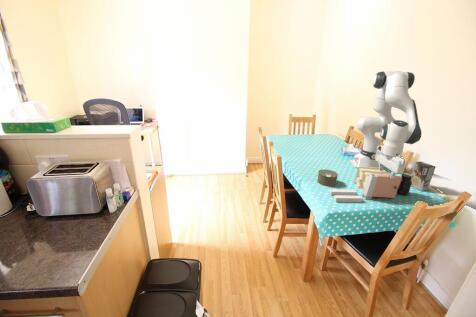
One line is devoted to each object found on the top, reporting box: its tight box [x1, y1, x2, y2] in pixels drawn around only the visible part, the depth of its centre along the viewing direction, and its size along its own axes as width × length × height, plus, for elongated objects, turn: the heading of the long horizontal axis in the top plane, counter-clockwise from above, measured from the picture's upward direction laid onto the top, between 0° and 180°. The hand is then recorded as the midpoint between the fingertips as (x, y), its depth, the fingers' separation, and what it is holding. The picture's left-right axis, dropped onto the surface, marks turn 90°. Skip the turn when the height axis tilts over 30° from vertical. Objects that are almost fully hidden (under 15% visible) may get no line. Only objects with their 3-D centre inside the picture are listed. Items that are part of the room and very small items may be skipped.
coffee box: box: [410, 161, 436, 192], centre depth 144 cm, size 9×6×16 cm
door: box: [362, 174, 402, 199], centre depth 130 cm, size 4×17×13 cm, turn 90°
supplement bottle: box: [396, 173, 412, 196], centre depth 137 cm, size 7×7×12 cm
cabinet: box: [354, 167, 390, 200], centre depth 139 cm, size 20×17×12 cm
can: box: [317, 169, 339, 187], centre depth 150 cm, size 12×12×7 cm
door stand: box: [328, 188, 364, 203], centre depth 133 cm, size 10×15×2 cm, turn 90°
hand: (385, 174), depth 128 cm, fingers open, 8 cm apart
